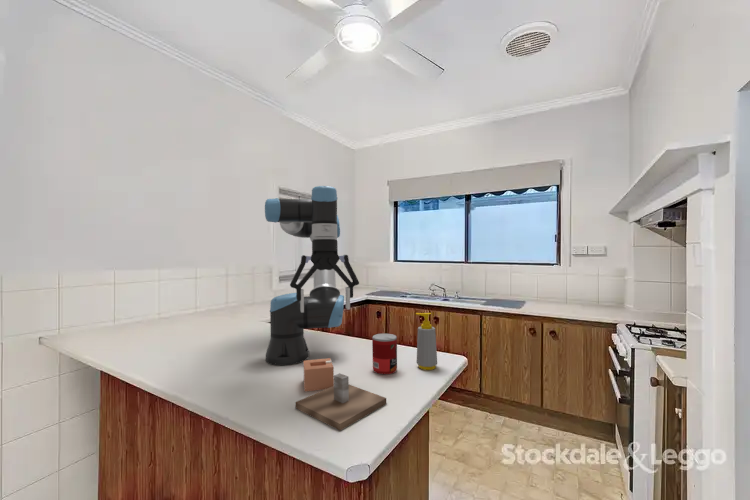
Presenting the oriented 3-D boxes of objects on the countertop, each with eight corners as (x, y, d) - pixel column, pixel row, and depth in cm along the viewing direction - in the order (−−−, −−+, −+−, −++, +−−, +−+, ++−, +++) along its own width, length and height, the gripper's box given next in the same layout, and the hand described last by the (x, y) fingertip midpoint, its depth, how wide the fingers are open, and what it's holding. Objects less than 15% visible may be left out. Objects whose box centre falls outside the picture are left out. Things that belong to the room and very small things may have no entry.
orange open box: (304, 391, 90) (304, 368, 90) (303, 380, 98) (303, 359, 98) (333, 388, 92) (333, 365, 92) (330, 377, 100) (330, 356, 100)
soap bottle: (415, 363, 112) (414, 311, 112) (435, 363, 112) (435, 311, 112) (417, 370, 105) (416, 315, 105) (439, 370, 105) (438, 314, 105)
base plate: (295, 408, 81) (295, 377, 81) (342, 387, 93) (342, 360, 93) (340, 430, 70) (339, 395, 70) (386, 403, 82) (386, 374, 82)
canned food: (395, 375, 101) (395, 340, 101) (370, 373, 103) (369, 338, 103) (398, 366, 109) (398, 333, 109) (375, 365, 110) (374, 332, 110)
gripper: (281, 238, 90) (282, 315, 90) (368, 238, 98) (369, 309, 97) (280, 239, 97) (281, 310, 97) (361, 239, 105) (362, 305, 104)
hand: (325, 310), depth 97 cm, fingers open, 13 cm apart
